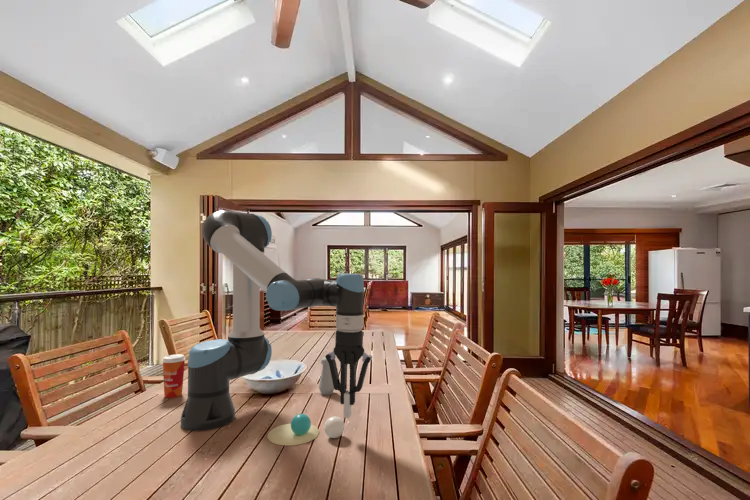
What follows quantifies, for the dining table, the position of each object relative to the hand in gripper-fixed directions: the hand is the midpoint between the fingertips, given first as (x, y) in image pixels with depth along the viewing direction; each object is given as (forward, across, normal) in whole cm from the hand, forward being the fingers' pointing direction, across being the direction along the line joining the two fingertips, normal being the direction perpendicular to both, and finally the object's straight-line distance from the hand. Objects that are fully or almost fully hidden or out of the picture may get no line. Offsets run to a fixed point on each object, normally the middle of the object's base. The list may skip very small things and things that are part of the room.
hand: (347, 416), depth 105 cm
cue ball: (+3, -4, 0) cm, 5 cm away
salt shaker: (+7, -16, +34) cm, 38 cm away
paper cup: (+8, -70, +22) cm, 74 cm away
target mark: (+6, -15, 0) cm, 17 cm away
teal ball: (+4, -13, 0) cm, 14 cm away
